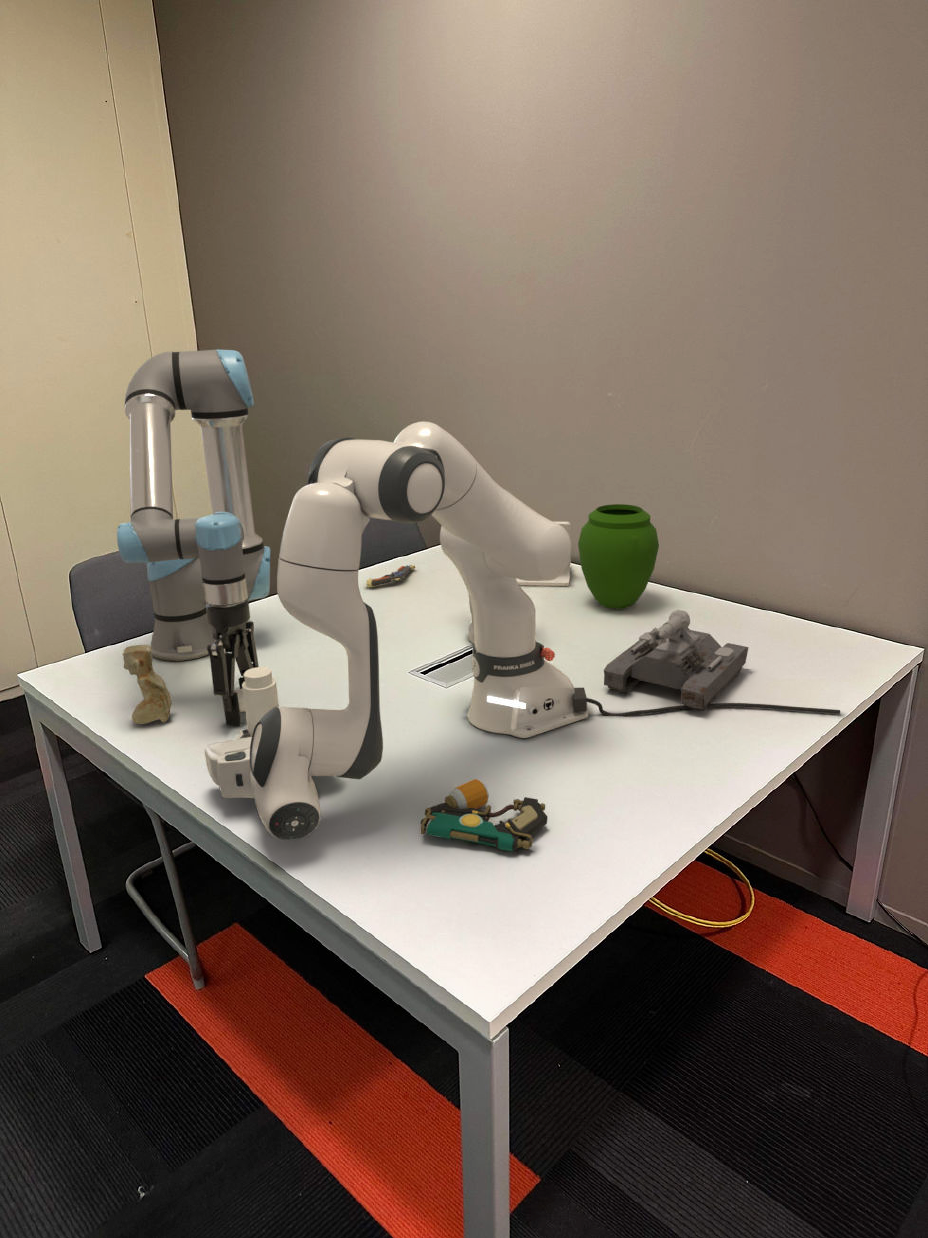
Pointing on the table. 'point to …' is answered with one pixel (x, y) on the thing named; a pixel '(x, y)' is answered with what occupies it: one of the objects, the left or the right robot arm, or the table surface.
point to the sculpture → (147, 686)
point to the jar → (258, 695)
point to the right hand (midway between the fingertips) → (264, 729)
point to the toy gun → (391, 576)
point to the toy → (678, 662)
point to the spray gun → (483, 818)
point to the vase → (618, 554)
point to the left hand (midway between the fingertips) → (241, 716)
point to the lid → (240, 699)
